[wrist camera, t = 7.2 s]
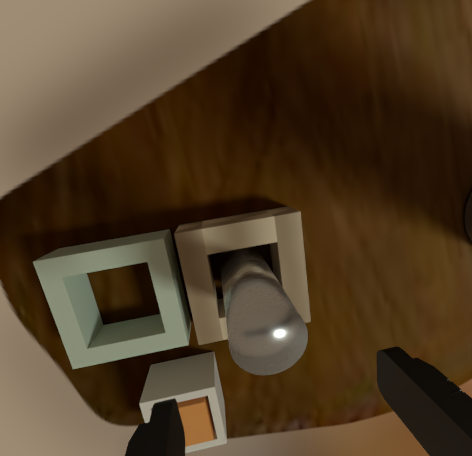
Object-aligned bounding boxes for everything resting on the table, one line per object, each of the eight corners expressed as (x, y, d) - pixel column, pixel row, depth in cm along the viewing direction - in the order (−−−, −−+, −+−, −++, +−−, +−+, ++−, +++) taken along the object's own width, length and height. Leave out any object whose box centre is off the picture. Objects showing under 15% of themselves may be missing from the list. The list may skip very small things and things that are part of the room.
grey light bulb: (261, 241, 22) (304, 297, 12) (266, 282, 22) (310, 365, 13) (216, 249, 21) (223, 314, 12) (223, 290, 22) (236, 382, 13)
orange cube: (205, 368, 23) (204, 402, 20) (212, 402, 24) (213, 440, 20) (162, 377, 23) (154, 413, 19) (171, 411, 24) (165, 451, 20)
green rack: (169, 229, 20) (163, 238, 18) (191, 322, 23) (188, 345, 20) (58, 248, 20) (32, 261, 17) (91, 343, 22) (73, 369, 19)
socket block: (287, 206, 21) (300, 211, 18) (298, 303, 23) (310, 321, 20) (178, 225, 20) (174, 233, 18) (200, 322, 23) (198, 345, 20)
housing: (213, 351, 23) (214, 386, 20) (224, 400, 25) (227, 443, 21) (150, 364, 23) (139, 403, 19) (164, 414, 24) (156, 460, 21)
